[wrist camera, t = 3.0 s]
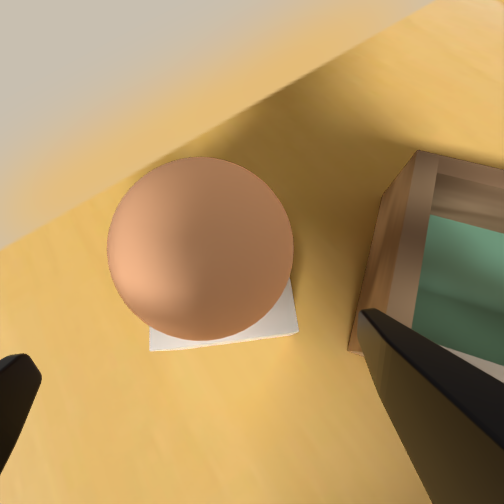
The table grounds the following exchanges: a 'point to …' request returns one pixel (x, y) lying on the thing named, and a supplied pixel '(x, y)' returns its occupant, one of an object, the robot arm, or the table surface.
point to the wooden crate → (442, 258)
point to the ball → (200, 248)
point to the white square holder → (270, 326)
